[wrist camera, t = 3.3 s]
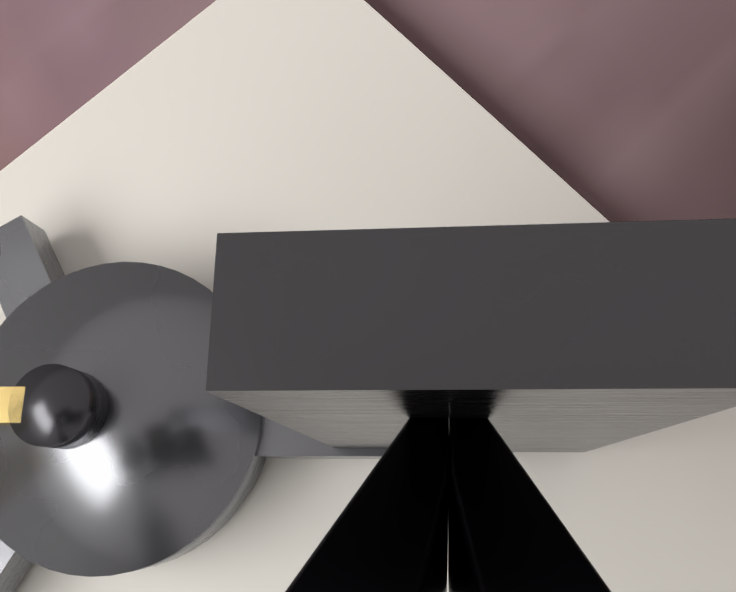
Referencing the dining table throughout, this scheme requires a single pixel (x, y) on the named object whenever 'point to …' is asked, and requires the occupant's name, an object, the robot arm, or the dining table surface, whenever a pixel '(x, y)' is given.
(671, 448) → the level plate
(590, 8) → the dining table surface
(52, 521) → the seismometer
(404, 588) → the robot arm
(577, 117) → the dining table surface
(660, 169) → the dining table surface
